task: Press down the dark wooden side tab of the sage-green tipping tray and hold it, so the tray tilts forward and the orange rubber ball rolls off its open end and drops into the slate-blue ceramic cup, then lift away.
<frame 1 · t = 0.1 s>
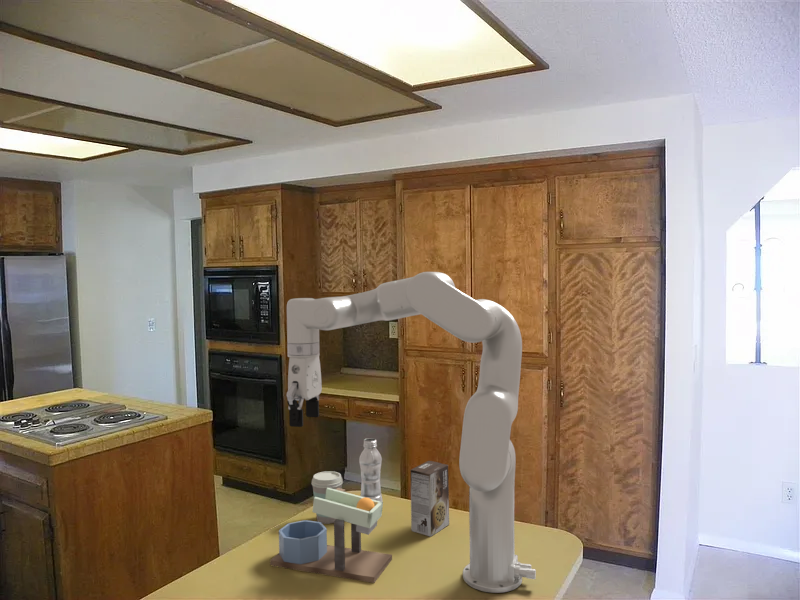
hand: (304, 421, 140), 31 cm above the countertop, tool pointing down, fingers open, 9 cm apart
orange ball: (365, 506, 131), point 14 cm above the countertop, tilted 10°, touching tipping tray
coffee box: (430, 528, 153), on the countertop
plastic bottle: (371, 511, 165), on the countertop
coffee cup: (327, 520, 159), on the countertop
blue cup: (303, 558, 137), resting on stand
stand: (348, 565, 133), on the countertop
tipping tray: (352, 506, 136), point 12 cm above the countertop, hinge at -8.0°, touching orange ball
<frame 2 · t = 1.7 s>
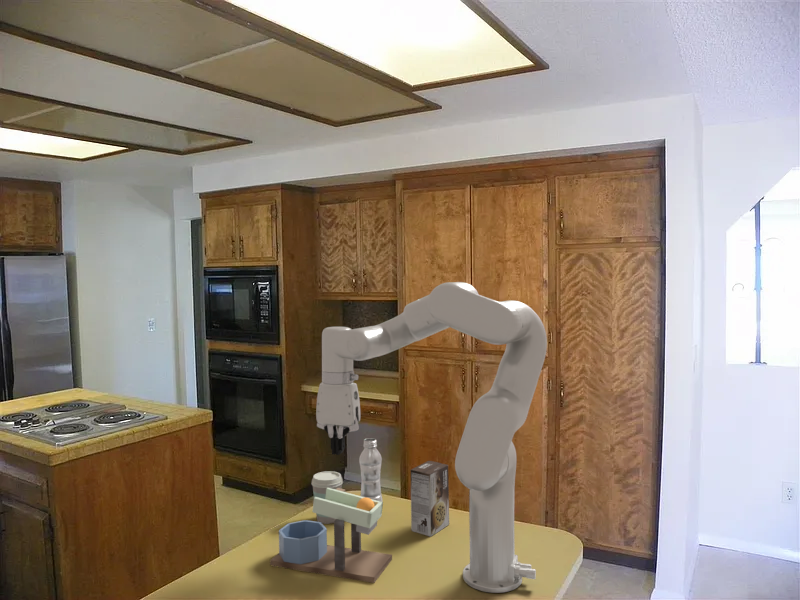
hand: (337, 453, 143), 23 cm above the countertop, tool pointing down, fingers closed
nothing on the countertop moved.
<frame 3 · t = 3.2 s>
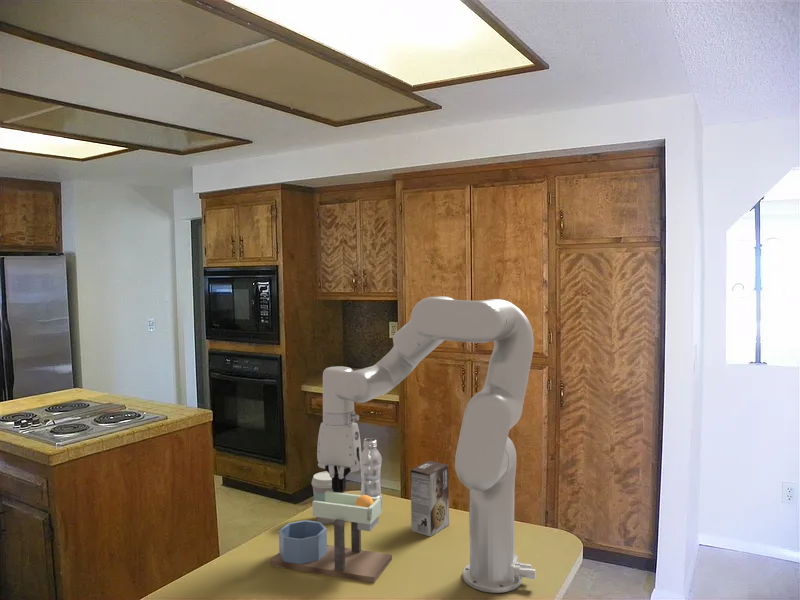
hand: (338, 492, 143), 13 cm above the countertop, tool pointing down, fingers closed
orange ball: (364, 504, 131), point 14 cm above the countertop, touching tipping tray
tipping tray: (352, 506, 136), point 12 cm above the countertop, hinge at -0.4°, touching gripper, orange ball
everything else where it was.
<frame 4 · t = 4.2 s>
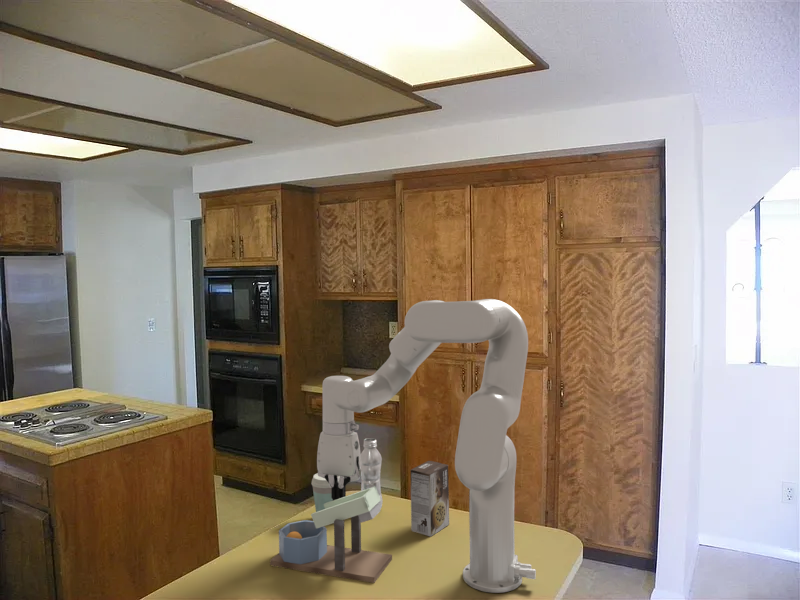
hand: (338, 502, 143), 11 cm above the countertop, tool pointing down, fingers closed
orange ball: (293, 540, 138), point 4 cm above the countertop, tilted 92°, touching blue cup
tipping tray: (353, 506, 136), point 12 cm above the countertop, hinge at 22.8°, touching gripper
everything else where it was.
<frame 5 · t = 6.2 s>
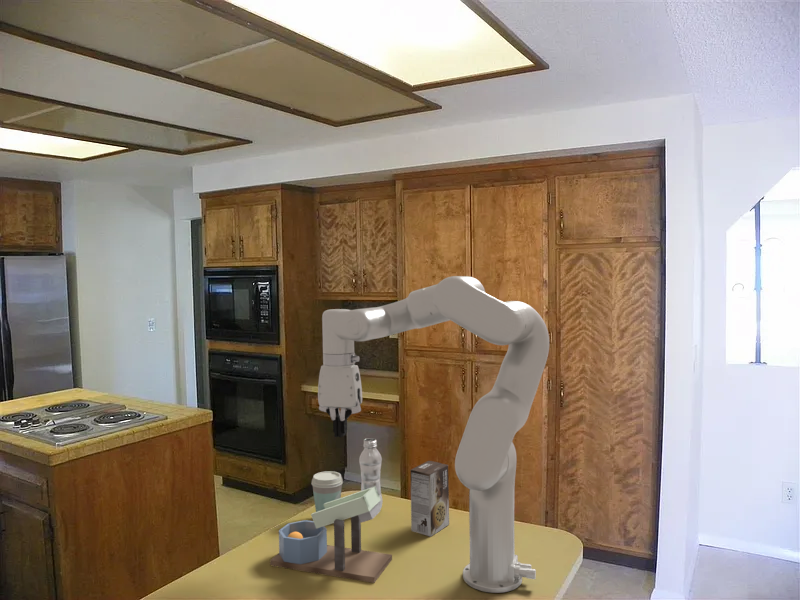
hand: (340, 435, 142), 27 cm above the countertop, tool pointing down, fingers closed
tipping tray: (353, 506, 136), point 12 cm above the countertop, hinge at 22.8°
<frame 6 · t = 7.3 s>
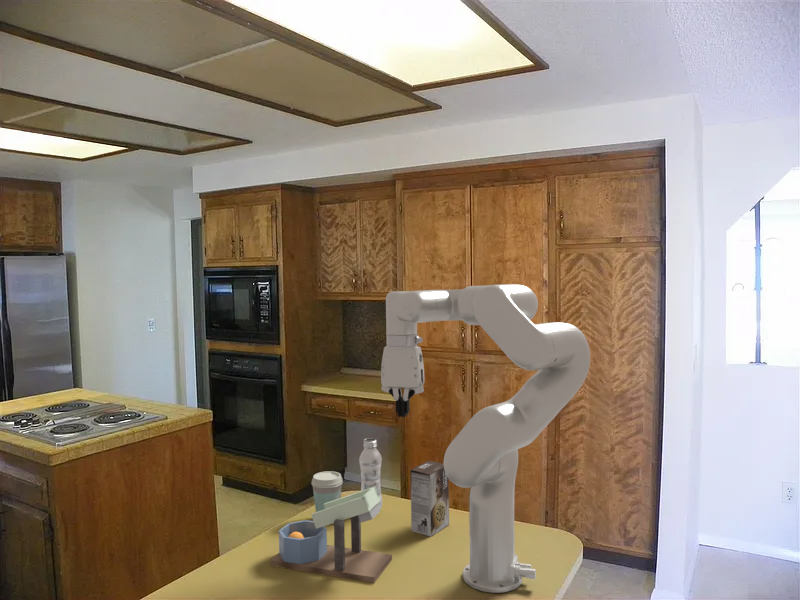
hand: (402, 415, 145), 31 cm above the countertop, tool pointing down, fingers closed
orange ball: (295, 540, 138), point 4 cm above the countertop, tilted 101°, touching blue cup
everything else where it was.
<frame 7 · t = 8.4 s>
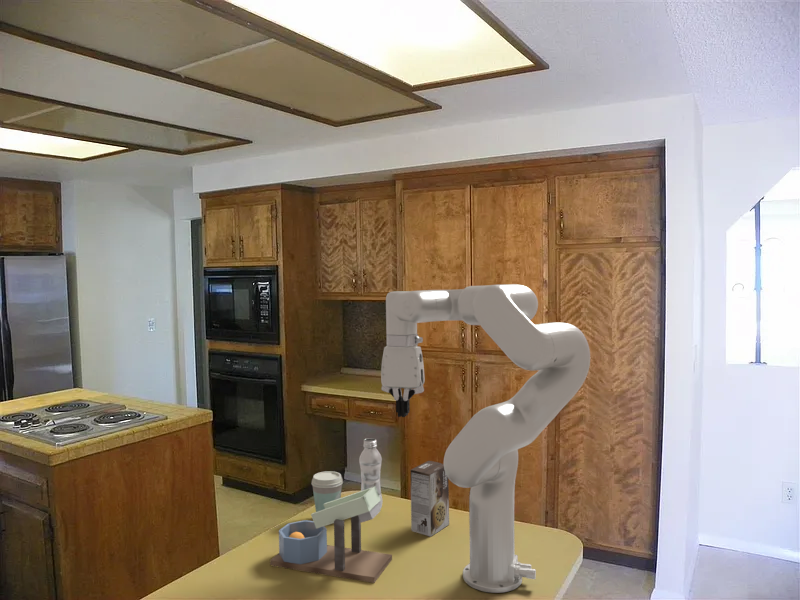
hand: (402, 415, 145), 31 cm above the countertop, tool pointing down, fingers closed
orange ball: (296, 541, 138), point 4 cm above the countertop, tilted 106°, touching blue cup
everything else where it was.
at the end: orange ball inside the target area on the blue cup (1.8 cm from its centre), point 3.8 cm above the blue cup's base; orange ball touching blue cup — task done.
